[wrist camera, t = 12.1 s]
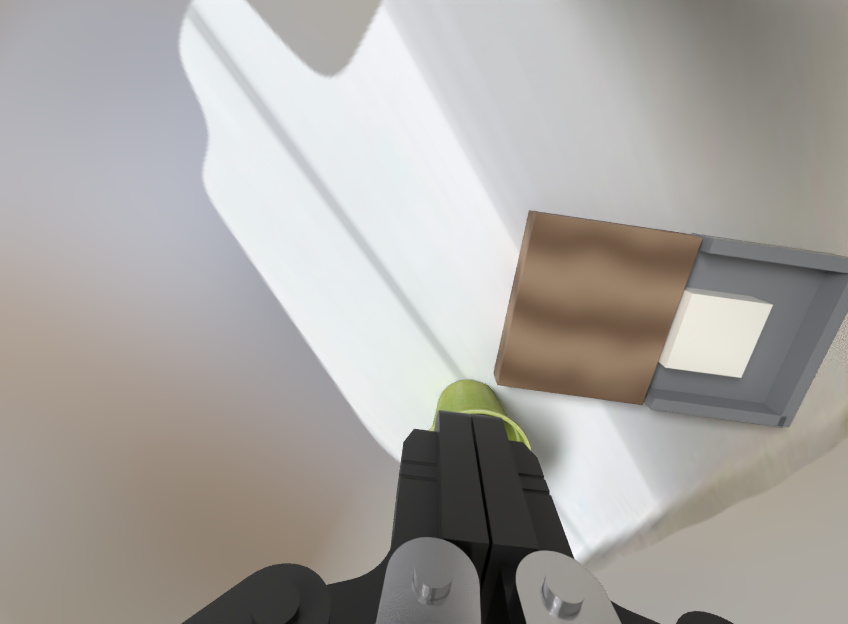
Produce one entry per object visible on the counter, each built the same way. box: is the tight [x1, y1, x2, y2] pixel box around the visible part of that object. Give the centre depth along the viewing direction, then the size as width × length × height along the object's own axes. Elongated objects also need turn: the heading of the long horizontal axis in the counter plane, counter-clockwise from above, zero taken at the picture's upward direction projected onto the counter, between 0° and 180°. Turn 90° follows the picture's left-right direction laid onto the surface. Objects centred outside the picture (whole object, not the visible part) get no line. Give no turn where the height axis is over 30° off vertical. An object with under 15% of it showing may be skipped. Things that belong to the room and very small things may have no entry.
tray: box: [643, 233, 848, 427], centre depth 37 cm, size 16×14×3 cm
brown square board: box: [494, 210, 702, 405], centre depth 37 cm, size 16×14×2 cm
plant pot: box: [429, 380, 531, 450], centre depth 38 cm, size 9×9×9 cm
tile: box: [658, 287, 773, 378], centre depth 37 cm, size 7×7×2 cm
